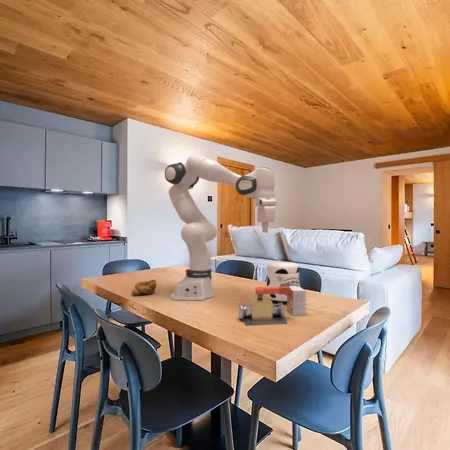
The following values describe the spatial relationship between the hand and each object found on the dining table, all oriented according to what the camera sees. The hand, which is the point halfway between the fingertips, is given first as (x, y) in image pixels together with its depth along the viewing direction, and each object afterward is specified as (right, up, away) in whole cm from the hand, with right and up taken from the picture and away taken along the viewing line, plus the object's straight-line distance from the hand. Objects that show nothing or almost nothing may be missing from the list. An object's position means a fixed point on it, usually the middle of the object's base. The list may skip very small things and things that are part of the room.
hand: (265, 232), depth 128 cm
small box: (+12, -34, -9) cm, 37 cm away
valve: (-4, -34, -16) cm, 38 cm away
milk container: (+10, -34, +10) cm, 37 cm away
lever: (+1, -24, -16) cm, 29 cm away
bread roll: (-63, -35, +24) cm, 76 cm away
